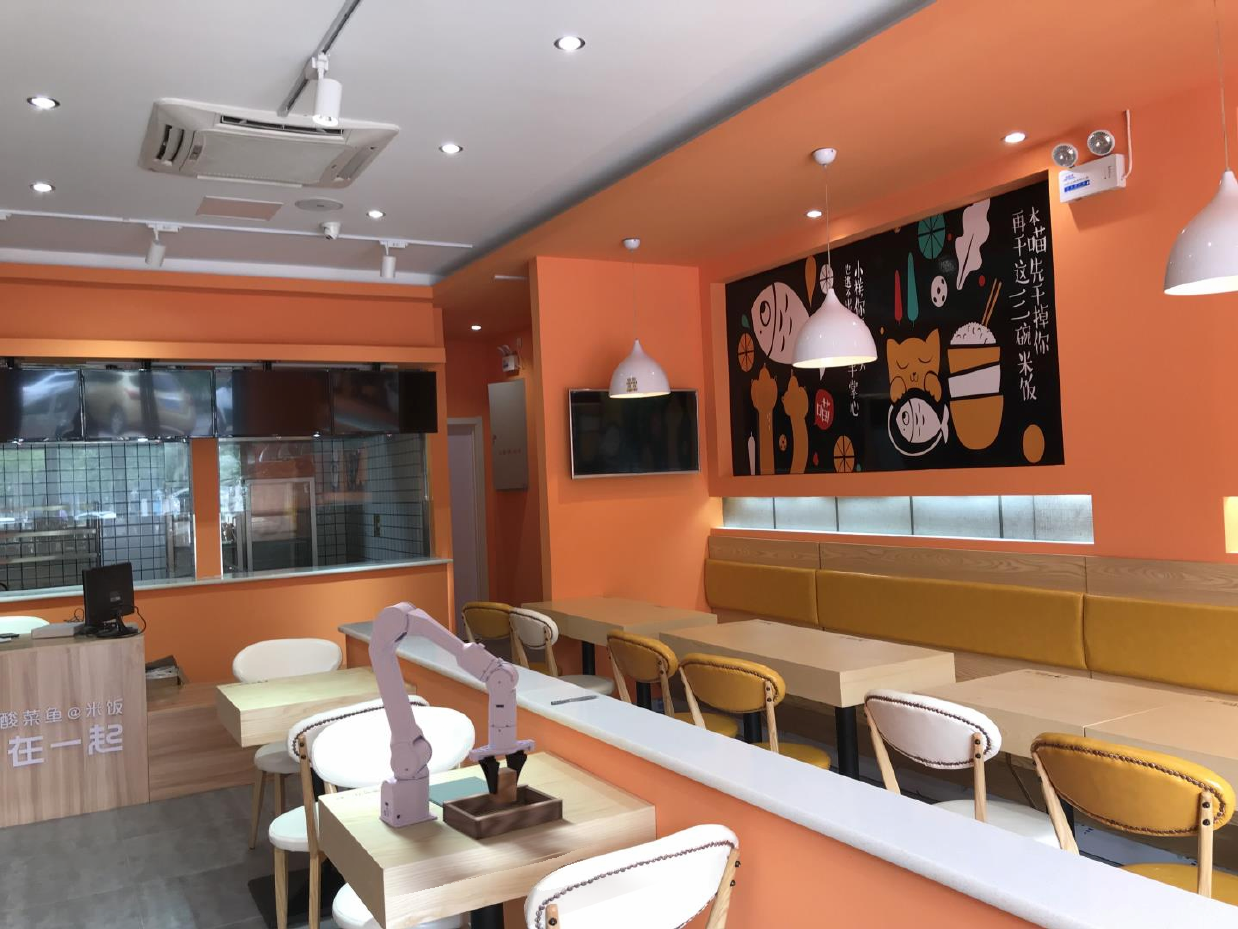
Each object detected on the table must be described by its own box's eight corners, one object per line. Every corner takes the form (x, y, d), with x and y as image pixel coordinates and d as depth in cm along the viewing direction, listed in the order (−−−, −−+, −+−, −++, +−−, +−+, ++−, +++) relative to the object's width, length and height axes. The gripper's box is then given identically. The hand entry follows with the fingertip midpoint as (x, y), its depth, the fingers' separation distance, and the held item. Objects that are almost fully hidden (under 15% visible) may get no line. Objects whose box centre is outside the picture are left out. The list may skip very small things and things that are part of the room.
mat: (446, 809, 204) (446, 807, 204) (412, 791, 217) (412, 789, 217) (511, 794, 214) (511, 792, 214) (475, 778, 227) (475, 776, 227)
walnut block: (499, 804, 195) (499, 774, 195) (489, 799, 198) (489, 770, 199) (516, 800, 198) (516, 771, 198) (506, 796, 201) (506, 766, 201)
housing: (477, 840, 186) (477, 820, 186) (442, 820, 197) (442, 801, 197) (562, 818, 199) (562, 799, 199) (525, 801, 210) (525, 783, 210)
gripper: (481, 733, 191) (481, 802, 191) (542, 722, 200) (542, 789, 199) (464, 726, 196) (463, 794, 196) (524, 716, 205) (524, 781, 205)
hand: (502, 791), depth 198 cm, fingers closed on walnut block, 4 cm apart
